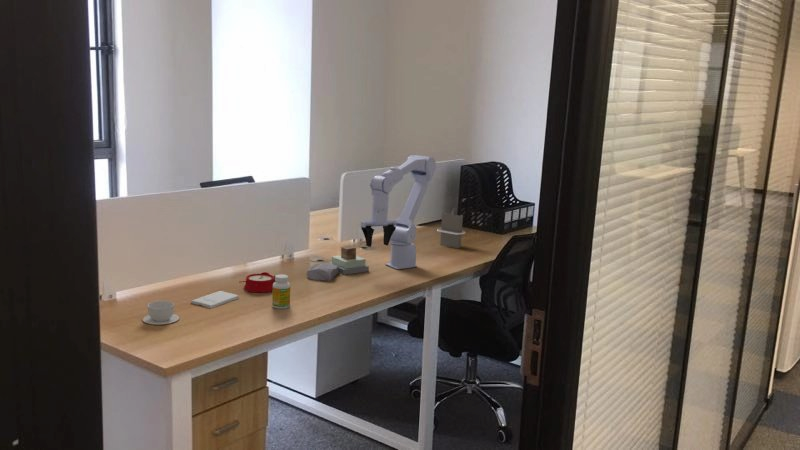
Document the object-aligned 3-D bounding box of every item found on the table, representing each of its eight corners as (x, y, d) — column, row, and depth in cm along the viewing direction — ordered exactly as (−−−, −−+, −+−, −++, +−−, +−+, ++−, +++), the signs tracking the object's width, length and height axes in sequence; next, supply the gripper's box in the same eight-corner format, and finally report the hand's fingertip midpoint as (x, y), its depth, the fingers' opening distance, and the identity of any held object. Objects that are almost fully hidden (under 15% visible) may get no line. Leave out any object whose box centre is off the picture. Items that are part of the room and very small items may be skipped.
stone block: (305, 283, 256) (332, 281, 255) (303, 270, 256) (330, 267, 254) (315, 276, 268) (341, 273, 266) (313, 263, 267) (339, 260, 266)
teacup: (183, 323, 206) (183, 307, 205) (147, 328, 201) (147, 312, 200) (173, 312, 215) (173, 297, 214) (138, 317, 209) (138, 301, 208)
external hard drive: (238, 300, 230) (210, 310, 220) (219, 295, 234) (190, 304, 224) (238, 295, 230) (210, 305, 219) (219, 290, 234) (190, 299, 223)
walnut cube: (350, 255, 273) (350, 245, 272) (355, 258, 270) (356, 247, 269) (341, 257, 271) (341, 246, 270) (346, 259, 268) (346, 249, 267)
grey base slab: (352, 265, 279) (352, 259, 278) (368, 272, 270) (368, 266, 270) (327, 269, 273) (328, 262, 272) (343, 276, 264) (343, 269, 263)
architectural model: (437, 238, 332) (439, 207, 329) (486, 247, 318) (489, 215, 316) (414, 245, 316) (416, 212, 313) (464, 255, 302) (467, 221, 299)
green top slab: (351, 260, 277) (351, 253, 277) (365, 265, 270) (365, 259, 270) (331, 262, 272) (331, 256, 271) (345, 268, 265) (345, 262, 264)
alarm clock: (234, 279, 239) (265, 261, 250) (237, 296, 241) (268, 277, 253) (258, 285, 233) (288, 266, 245) (261, 302, 236) (291, 283, 247)
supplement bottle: (279, 310, 221) (280, 279, 219) (268, 305, 225) (269, 275, 223) (293, 306, 225) (294, 276, 223) (282, 302, 229) (283, 272, 227)
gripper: (369, 211, 256) (366, 249, 258) (402, 210, 264) (399, 246, 267) (358, 208, 261) (356, 245, 264) (391, 206, 270) (388, 242, 272)
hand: (377, 245), depth 266 cm, fingers open, 7 cm apart
